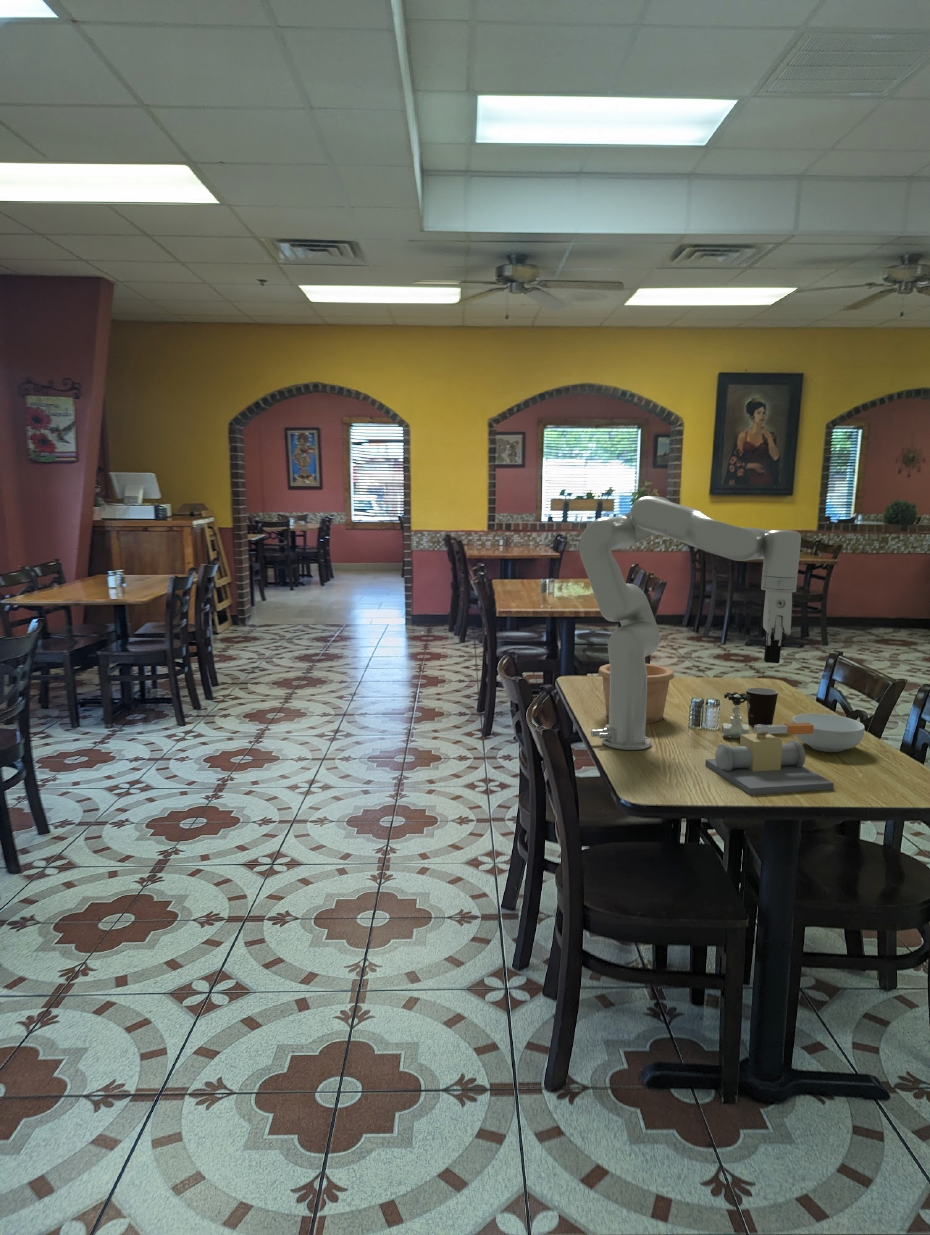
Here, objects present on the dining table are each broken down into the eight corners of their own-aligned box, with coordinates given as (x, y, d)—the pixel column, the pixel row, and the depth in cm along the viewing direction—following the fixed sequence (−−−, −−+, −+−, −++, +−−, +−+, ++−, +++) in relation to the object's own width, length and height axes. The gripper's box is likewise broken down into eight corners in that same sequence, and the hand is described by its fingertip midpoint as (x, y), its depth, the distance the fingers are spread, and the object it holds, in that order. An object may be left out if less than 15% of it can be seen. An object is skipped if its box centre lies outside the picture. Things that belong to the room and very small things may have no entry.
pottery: (594, 706, 241) (596, 661, 240) (666, 708, 239) (667, 663, 238) (600, 725, 220) (601, 676, 218) (678, 727, 218) (680, 677, 216)
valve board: (749, 794, 165) (752, 753, 164) (705, 765, 185) (706, 727, 183) (833, 789, 169) (836, 748, 167) (780, 760, 188) (783, 724, 187)
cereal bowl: (792, 753, 194) (794, 726, 193) (789, 736, 210) (790, 710, 209) (867, 761, 188) (869, 733, 188) (858, 742, 204) (860, 716, 203)
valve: (749, 742, 204) (752, 698, 202) (723, 740, 205) (725, 697, 203) (745, 735, 210) (748, 692, 208) (720, 734, 211) (722, 691, 210)
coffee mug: (773, 730, 215) (775, 695, 213) (741, 726, 219) (742, 692, 218) (780, 721, 224) (782, 687, 223) (750, 717, 229) (751, 684, 228)
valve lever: (758, 735, 177) (758, 727, 176) (752, 732, 180) (752, 723, 179) (814, 734, 178) (814, 725, 178) (807, 730, 181) (807, 722, 181)
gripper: (802, 588, 168) (794, 670, 171) (790, 581, 182) (783, 657, 185) (766, 586, 170) (758, 667, 172) (757, 580, 184) (750, 655, 187)
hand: (771, 662), depth 179 cm, fingers closed
